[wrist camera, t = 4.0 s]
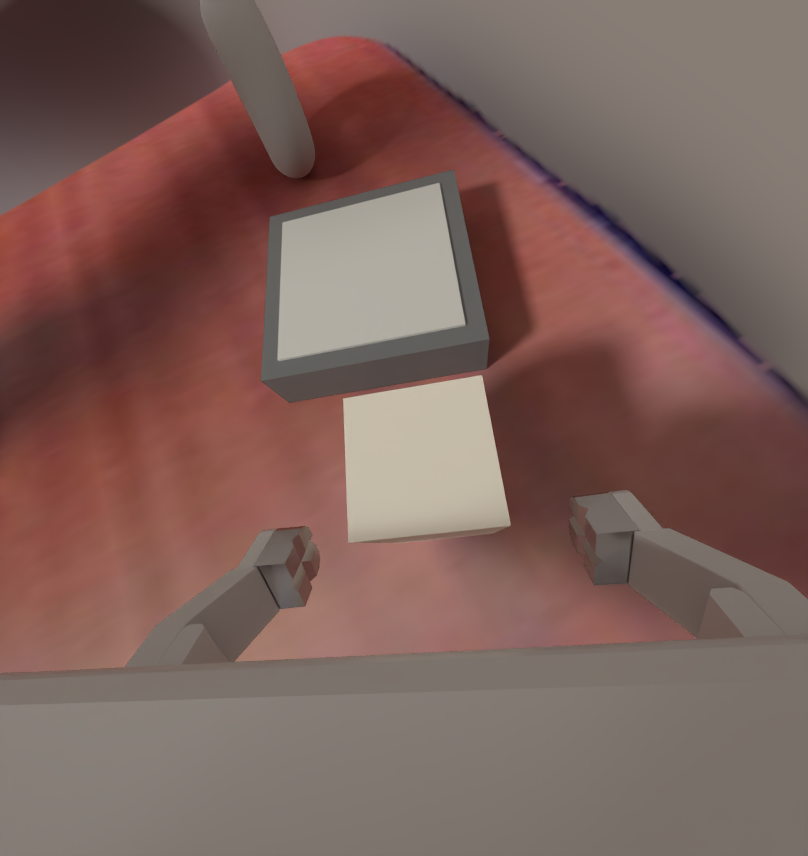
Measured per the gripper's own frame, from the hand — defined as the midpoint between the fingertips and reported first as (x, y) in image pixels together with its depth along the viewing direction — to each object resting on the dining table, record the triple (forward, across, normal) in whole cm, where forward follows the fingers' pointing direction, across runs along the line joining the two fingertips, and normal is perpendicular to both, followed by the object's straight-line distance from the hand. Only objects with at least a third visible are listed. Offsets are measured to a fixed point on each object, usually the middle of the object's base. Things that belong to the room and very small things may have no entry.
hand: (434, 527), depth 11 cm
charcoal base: (+15, +3, -6) cm, 16 cm away
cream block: (+6, 0, +3) cm, 7 cm away
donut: (+26, +8, -16) cm, 32 cm away
